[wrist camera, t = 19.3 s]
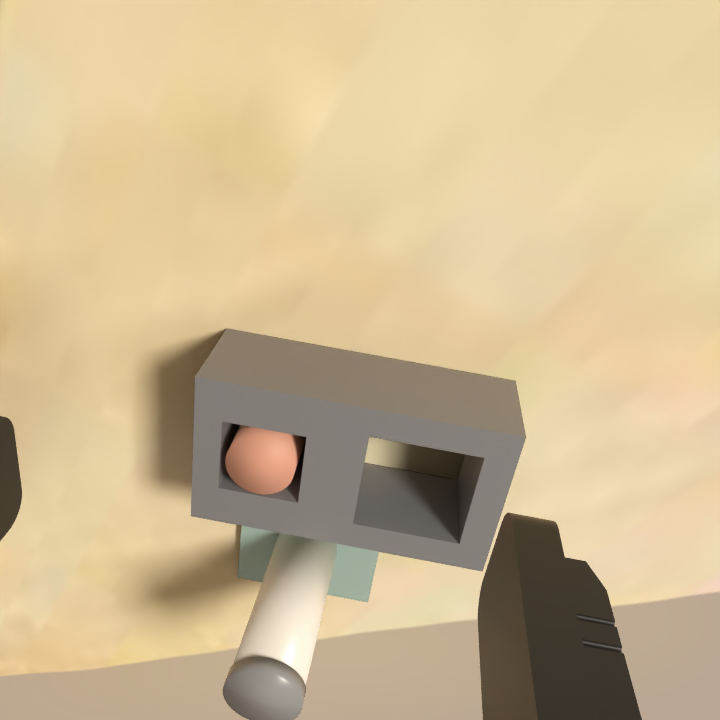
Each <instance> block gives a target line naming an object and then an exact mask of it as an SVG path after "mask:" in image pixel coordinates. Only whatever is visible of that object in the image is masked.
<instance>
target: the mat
mask: <svg viewBox="0 0 720 720" xmlns="http://www.w3.org/2000/svg"><path fill="white" fill-rule="evenodd" d="M279 534H280V533H278V532H272V531H267V530H262V529H257V528H251V527H246V526H241V539H240V552H239V565H238V578H243V579H249V580H254V581H259V582H262V581H263V579H264V576H265V573H266V570H267V567H268V564H269V561H270V559H271V556H272V553H273V550H274V547H275V544H276V542H277V539H278V536H279ZM378 553H379V552H378V551H373V550H367V549H362V548H357V547H351V546H346V545H341V544H337V555H336V560H335V564H334V568H333V572H332V576H331V581H330V585H329V589H328V593H327V595H332V596H337V597H342V598H348V599H353V600H358V601H363V602H368V599H369V594H370V590H371V585H372V580H373V576H374V571H375V567H376V562H377V557H378Z"/></svg>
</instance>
